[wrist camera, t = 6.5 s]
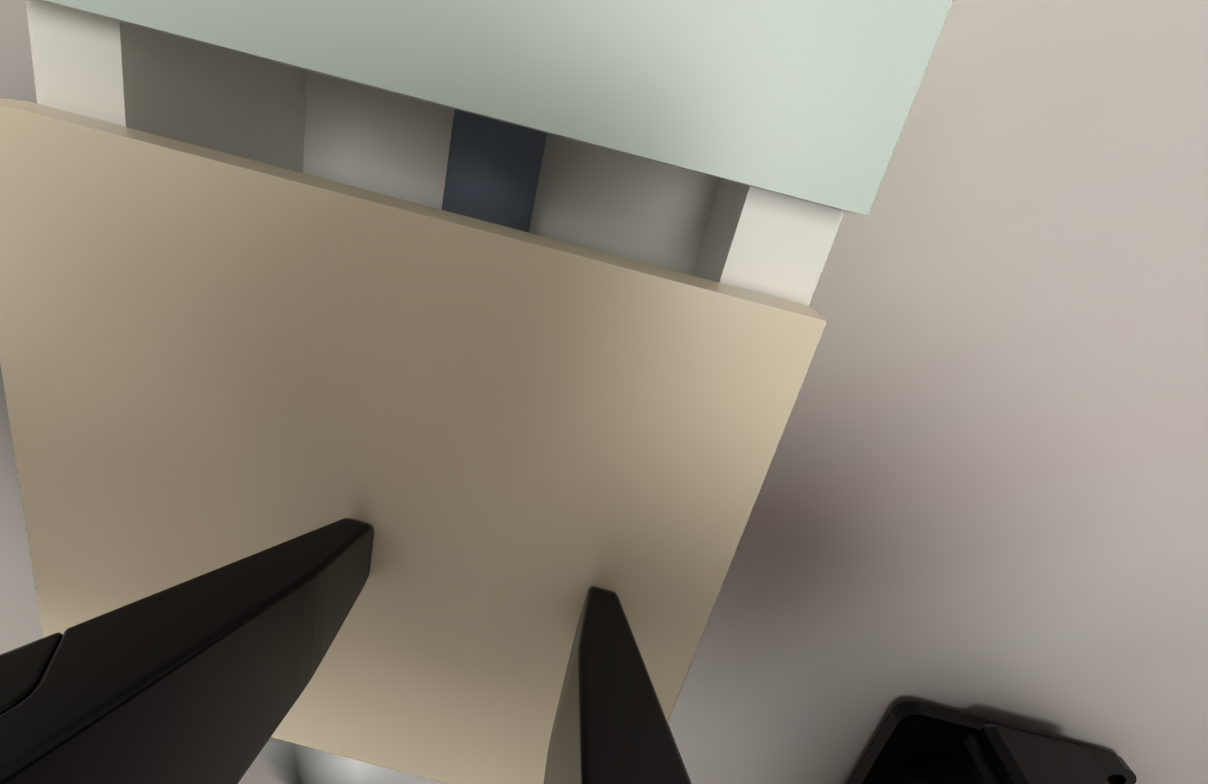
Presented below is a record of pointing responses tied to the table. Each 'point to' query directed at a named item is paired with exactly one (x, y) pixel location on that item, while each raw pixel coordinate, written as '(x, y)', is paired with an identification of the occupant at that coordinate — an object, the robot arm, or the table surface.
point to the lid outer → (619, 72)
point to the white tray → (421, 151)
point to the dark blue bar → (493, 170)
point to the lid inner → (375, 425)
